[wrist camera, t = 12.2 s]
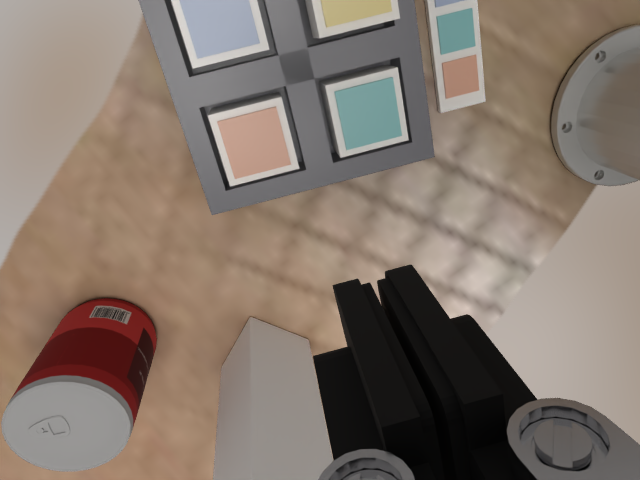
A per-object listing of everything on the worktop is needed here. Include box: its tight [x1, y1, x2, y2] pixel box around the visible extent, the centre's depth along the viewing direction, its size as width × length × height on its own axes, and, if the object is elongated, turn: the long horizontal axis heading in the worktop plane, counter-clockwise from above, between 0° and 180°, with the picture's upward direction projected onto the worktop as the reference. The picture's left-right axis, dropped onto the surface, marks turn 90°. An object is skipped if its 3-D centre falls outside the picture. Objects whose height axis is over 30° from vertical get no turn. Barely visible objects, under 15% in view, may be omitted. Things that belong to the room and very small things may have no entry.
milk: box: [213, 317, 333, 480], centre depth 35 cm, size 6×6×22 cm
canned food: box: [1, 298, 157, 471], centre depth 37 cm, size 8×8×11 cm
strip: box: [424, 0, 486, 113], centre depth 36 cm, size 4×11×1 cm, turn 13°
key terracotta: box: [208, 92, 299, 186], centre depth 35 cm, size 5×5×4 cm
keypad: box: [139, 0, 435, 215], centre depth 34 cm, size 17×17×3 cm
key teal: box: [319, 65, 409, 158], centre depth 35 cm, size 5×5×4 cm
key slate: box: [171, 0, 269, 68], centre depth 31 cm, size 5×5×4 cm
